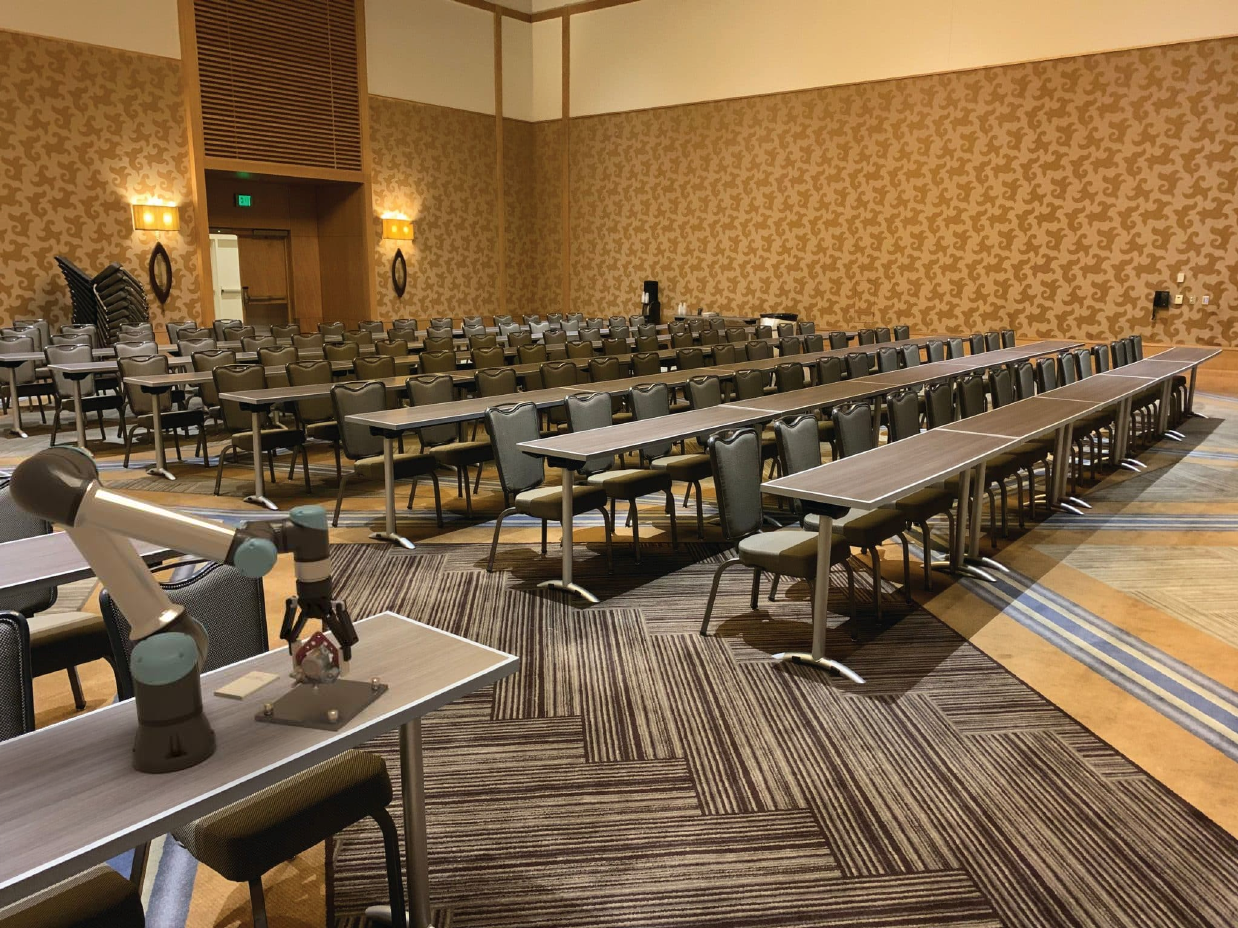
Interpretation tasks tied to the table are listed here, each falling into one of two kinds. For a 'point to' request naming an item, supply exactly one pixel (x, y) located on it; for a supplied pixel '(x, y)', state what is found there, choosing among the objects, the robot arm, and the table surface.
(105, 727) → the table surface
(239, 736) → the table surface
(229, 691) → the light wooden board
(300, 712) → the mounting plate
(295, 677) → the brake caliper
